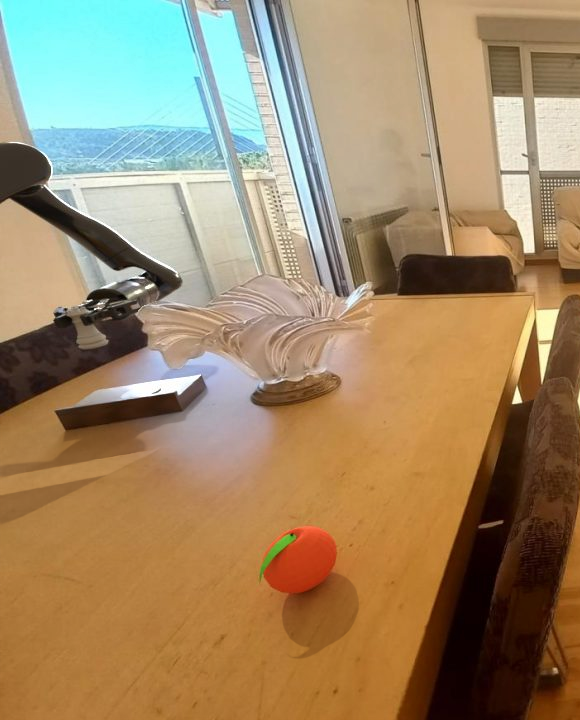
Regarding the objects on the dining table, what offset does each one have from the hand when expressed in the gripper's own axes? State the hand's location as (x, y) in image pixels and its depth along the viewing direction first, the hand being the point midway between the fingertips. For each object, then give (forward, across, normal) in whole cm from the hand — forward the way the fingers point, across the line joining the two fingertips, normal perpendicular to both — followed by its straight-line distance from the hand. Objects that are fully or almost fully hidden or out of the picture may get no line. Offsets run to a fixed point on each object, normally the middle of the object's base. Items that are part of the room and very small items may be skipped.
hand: (71, 322), depth 92 cm
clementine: (+71, +49, +17) cm, 88 cm away
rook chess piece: (-3, 0, +6) cm, 7 cm away
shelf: (+6, +7, +18) cm, 20 cm away
